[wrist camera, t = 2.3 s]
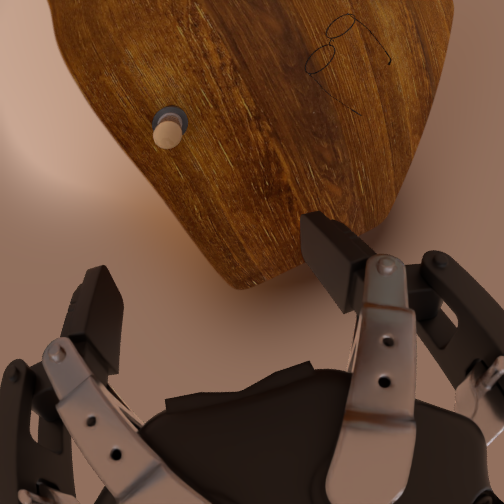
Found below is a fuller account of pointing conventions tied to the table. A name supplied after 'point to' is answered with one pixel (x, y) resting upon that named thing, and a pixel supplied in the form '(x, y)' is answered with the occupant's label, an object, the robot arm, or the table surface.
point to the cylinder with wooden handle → (169, 126)
